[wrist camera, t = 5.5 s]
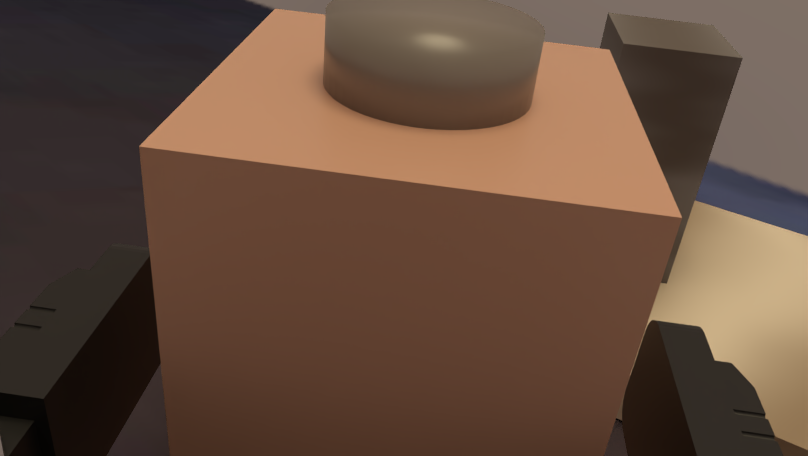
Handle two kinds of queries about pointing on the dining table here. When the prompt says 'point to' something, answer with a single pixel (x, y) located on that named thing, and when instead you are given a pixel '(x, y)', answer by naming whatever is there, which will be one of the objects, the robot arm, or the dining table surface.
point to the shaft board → (717, 221)
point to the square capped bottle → (403, 238)
